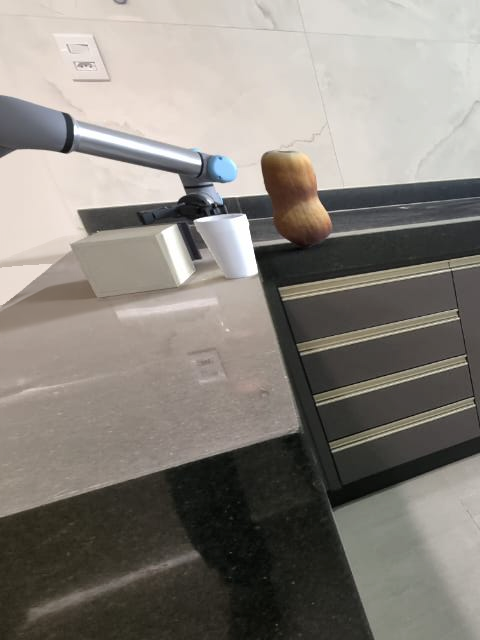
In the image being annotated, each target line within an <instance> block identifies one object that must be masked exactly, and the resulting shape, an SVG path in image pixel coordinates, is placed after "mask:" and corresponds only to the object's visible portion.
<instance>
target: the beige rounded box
mask: <svg viewBox="0 0 480 640" xmlns="http://www.w3.org/2000/svg"><path fill="white" fill-rule="evenodd" d="M69 246H70V249H71V250H72V253H73V254H74V256H75V258H76V261H77V262H78V264H79V265H80V267H81V268H80V269H82V272H83V274H84V276H85V277H86V280H87V281H88V283H89V285H90V287H91V289H92V291H93V293H94V295H95V297H96V298H97V299H100V298H107V297H114V296H122V295H130V294H137V293H145V292H152V291H160V290H166V289H173V288H174V289H175V288H179V287H180V286H182V284H183V283H184V282H185V281H186V280H187V279H189V278H190V277H191V276H192V275H193V274H194V273H196V272H197V270H196V267H195V265H194V261H193V262H192V259H191V257H190V255H189V252H188V250H187V248H186V245H185V243H184V240H183V238H182V236H181V233H180V231H179V228H178V226H177V224H167V225H157V226H147V227H137V228H127V229H121V228H118V229H108V230H100V231H97V232H95V233H93V234H89V235H88V236H86V237H83V238H81V239H78V240H76V241H73V242H71V243H69Z"/></svg>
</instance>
